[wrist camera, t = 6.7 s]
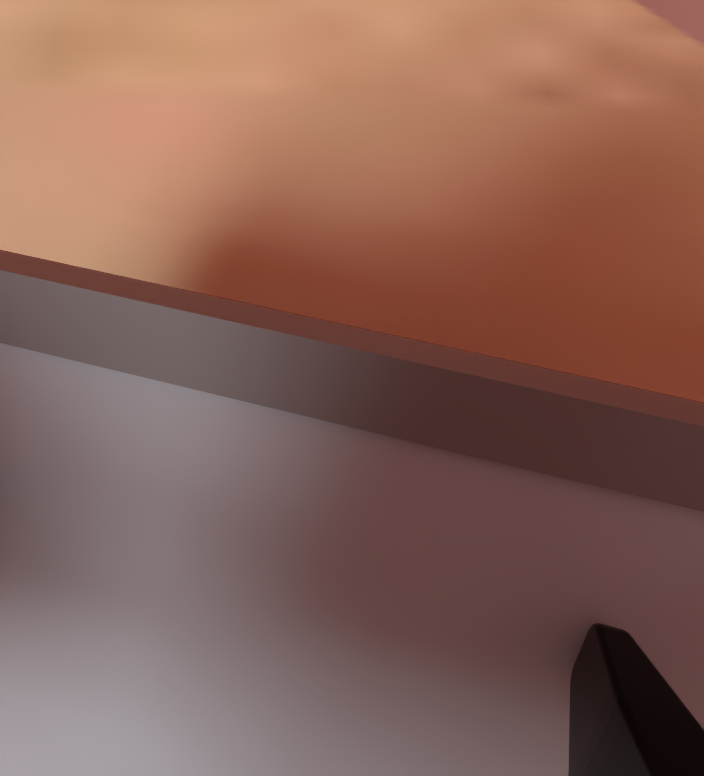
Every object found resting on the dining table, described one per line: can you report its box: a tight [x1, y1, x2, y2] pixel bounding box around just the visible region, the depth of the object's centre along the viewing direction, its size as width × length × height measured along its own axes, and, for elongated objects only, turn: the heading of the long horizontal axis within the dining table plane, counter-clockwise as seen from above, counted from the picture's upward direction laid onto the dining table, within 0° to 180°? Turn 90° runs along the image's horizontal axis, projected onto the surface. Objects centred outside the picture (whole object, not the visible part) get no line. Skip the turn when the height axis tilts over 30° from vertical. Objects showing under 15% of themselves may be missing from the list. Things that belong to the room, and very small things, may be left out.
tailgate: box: [0, 250, 704, 776], centre depth 10 cm, size 2×16×12 cm
